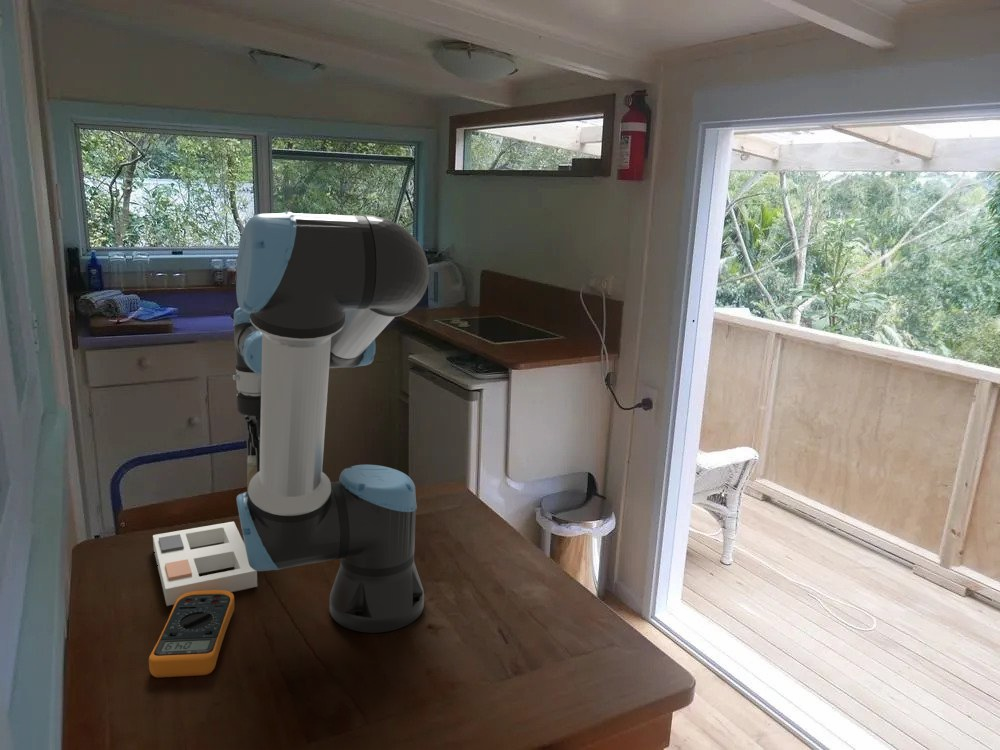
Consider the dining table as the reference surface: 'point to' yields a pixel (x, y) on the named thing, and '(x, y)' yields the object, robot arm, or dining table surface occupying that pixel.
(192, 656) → the multimeter
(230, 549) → the socket board
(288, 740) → the dining table surface
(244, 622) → the dining table surface
